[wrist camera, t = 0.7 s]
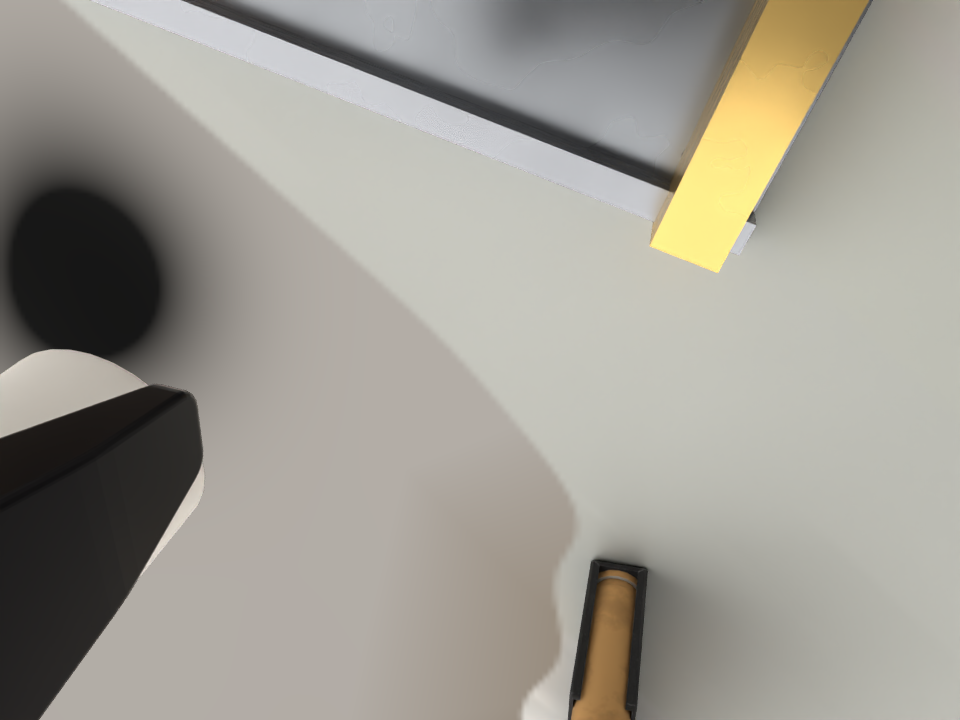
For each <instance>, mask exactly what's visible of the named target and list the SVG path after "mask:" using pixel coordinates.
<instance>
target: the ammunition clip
mask: <svg viewBox="0 0 960 720" xmlns="http://www.w3.org/2000/svg"><path fill="white" fill-rule="evenodd" d="M647 573H648V571H647V570H646V569H643V568H637V567H631V566H625V565H619V564H613V563H607V562H601V561H595V560H593V561H591V565H590V571H589V578H588V584H587V590H586V596H585V603H584V609H583V615H582V621H581V628H580V634H579V640H578V646H577V653H576V659H575V665H574V671H573V678H572V684H571V690H570V698H569V712H568V720H635V717H636V710H637V699H638V687H639V674H640V661H641V649H642V636H643V623H644V611H645V598H646V586H647Z"/></svg>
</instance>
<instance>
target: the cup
mask: <svg viewBox="0 0 960 720" xmlns="http://www.w3.org/2000/svg"><path fill="white" fill-rule="evenodd" d="M145 386H148V384H147V383H145V382H144V381H143V380H141V379H140V378H139V377H137V376H136V375H134V374H133V373H131V372H129V371H127V370H126V369H124V368H122V367H120V366H118V365H117V364H115V363H113V362H111V361H108V360H106V359H103V358H100V357H98V356H95V355H93V354H89V353H84V352H79V351H75V350H65V349H64V350H62V349H60V350H59V349H50V350H45V351H40V352H36V353H33V354H31V355H29V356H28V357H26V358H24V359H22V360H20V361H19V362H18V363H16V364H15V365H13V366H12V367H10V368H9V369H8V370H6V371H5V372H3V373H2V374H0V438H1V437H4V436H7V435H10V434H12V433H15V432H18V431H21V430H24V429H27V428H29V427H32V426H35V425H38V424H41V423H44V422H46V421H49V420H52V419H55V418H58V417H61V416H63V415H66V414H69V413H72V412H75V411H77V410H80V409H83V408H86V407H89V406H92V405H94V404H97V403H100V402H103V401H106V400H109V399H111V398H114V397H117V396H120V395H123V394H125V393H128V392H131V391H134V390H137V389H140V388H142V387H145ZM204 483H205V472H204V466H203V460H202V465H201V468H200V471H199V473H198V475H197V477H196V479H195V481H194V483H193V484H192V486H191V488H190V490H189V491H188V493H187V495H186V497H185V498H184V500H183V502H182V504H181V505H180V507H179V509H178V511H177V512H176V514H175V516H174V517H173V519H172V521H171V523H170V524H169V526H168V528H167V530H166V531H165V533H164V535H163V537H162V538H161V540H160V542H159V544H158V545H157V547H156V549H155V551H154V552H153V554H152V556H151V558H150V559H149V561H148V563H147V565H146V566H145V568H144V570H143V572H142V573H141V575H142V574H143V573H144V571H145V570H146V569H147V568H148V566H149V565H150V564H151V563H152V561H153V560H154V559H155V558H156V556H157V555H158V554H159V553H160V552H161V550H162V549H163V548H164V547H165V545H166V544H167V543H168V542H169V540H170V539H171V538H172V537H173V535H174V534H175V533H176V532H177V531H178V529H179V528H180V527H181V526H182V524H183V523H184V522H185V521H186V519H187V518H188V517H189V516H190V514H191V513H192V512H193V511H194V509H195V508H196V507H197V506H198V504H199V503H200V500H201V497H202V495H203V492H204ZM141 575H140V576H141ZM139 578H140V577H139ZM139 578H138V579H139Z"/></svg>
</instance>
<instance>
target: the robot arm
mask: <svg viewBox="0 0 960 720" xmlns="http://www.w3.org/2000/svg"><path fill="white" fill-rule="evenodd" d="M202 460H203V447H202V439H201V430H200V422H199V415H198V406H197V402H196V399H195V398H194V396H193V395H192V394H191V393H190V392H188V391H186V390H182V389H178V388H174V387H170V386H166V385H162V384H152V385H148V386H145V387H142V388H140V389H137V390H134V391H131V392H128V393H125V394H123V395H120V396H117V397H114V398H111V399H109V400H106V401H103V402H100V403H97V404H94V405H92V406H89V407H86V408H83V409H80V410H77V411H75V412H72V413H69V414H66V415H63V416H61V417H58V418H55V419H52V420H49V421H46V422H44V423H41V424H38V425H35V426H32V427H29V428H27V429H24V430H21V431H18V432H15V433H12V434H10V435H7V436H4V437H1V438H0V720H39V719H40V718H41V716H42V715H43V714H44V712H45V711H46V710H47V708H48V707H49V705H50V704H51V702H52V701H53V700H54V698H55V697H56V695H57V694H58V693H59V691H60V690H61V689H62V687H63V686H64V684H65V683H66V682H67V680H68V679H69V678H70V676H71V675H72V673H73V672H74V671H75V669H76V668H77V666H78V665H79V664H80V662H81V661H82V660H83V658H84V657H85V655H86V654H87V653H88V651H89V650H90V649H91V647H92V646H93V644H94V643H95V642H96V640H97V639H98V637H99V636H100V635H101V633H102V632H103V631H104V629H105V628H106V626H107V625H108V624H109V622H110V621H111V619H112V618H113V617H114V615H115V614H116V612H117V611H118V609H119V608H120V606H121V605H122V604H123V602H124V600H125V599H126V598H127V596H128V595H129V593H130V591H131V590H132V588H133V586H134V585H135V583H136V582H137V580H138V578H139V577H140V575H141V573H142V572H143V570H144V568H145V566H146V565H147V563H148V561H149V559H150V558H151V556H152V554H153V552H154V551H155V549H156V547H157V545H158V544H159V542H160V540H161V538H162V537H163V535H164V533H165V531H166V530H167V528H168V526H169V524H170V523H171V521H172V519H173V517H174V516H175V514H176V512H177V511H178V509H179V507H180V505H181V504H182V502H183V500H184V498H185V497H186V495H187V493H188V491H189V490H190V488H191V486H192V484H193V483H194V481H195V479H196V477H197V475H198V473H199V471H200V468H201V465H202Z"/></svg>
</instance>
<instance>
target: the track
mask: <svg viewBox="0 0 960 720" xmlns="http://www.w3.org/2000/svg"><path fill="white" fill-rule="evenodd" d="M91 1H93V2H96V3H98V4H101V5H104V6H106V7H109V8H111V9H114V10H116V11H119V12H121V13H124V14H126V15H129V16H131V17H134V18H137V19H139V20H142V21H144V22H147V23H149V24H152V25H154V26H157V27H159V28H162V29H164V30H167V31H170V32H172V33H175V34H177V35H180V36H182V37H185V38H187V39H190V40H192V41H195V42H198V43H200V44H203V45H205V46H208V47H210V48H213V49H215V50H218V51H220V52H223V53H225V54H228V55H231V56H233V57H236V58H238V59H241V60H243V61H246V62H248V63H251V64H253V65H256V66H259V67H261V68H264V69H266V70H269V71H271V72H274V73H276V74H279V75H281V76H284V77H286V78H289V79H292V80H294V81H297V82H299V83H302V84H304V85H307V86H309V87H312V88H314V89H317V90H320V91H322V92H325V93H327V94H330V95H332V96H335V97H337V98H340V99H342V100H345V101H347V102H350V103H353V104H355V105H358V106H360V107H363V108H365V109H368V110H370V111H373V112H375V113H378V114H381V115H383V116H386V117H388V118H391V119H393V120H396V121H398V122H401V123H403V124H406V125H408V126H411V127H414V128H416V129H419V130H421V131H424V132H426V133H429V134H431V135H434V136H436V137H439V138H442V139H444V140H447V141H449V142H452V143H454V144H457V145H459V146H462V147H464V148H467V149H469V150H472V151H475V152H477V153H480V154H482V155H485V156H487V157H490V158H492V159H495V160H497V161H500V162H502V163H505V164H508V165H510V166H513V167H515V168H518V169H520V170H523V171H525V172H528V173H530V174H533V175H536V176H538V177H541V178H543V179H546V180H548V181H551V182H553V183H556V184H558V185H561V186H563V187H566V188H569V189H571V190H574V191H576V192H579V193H581V194H584V195H586V196H589V197H591V198H594V199H597V200H599V201H602V202H604V203H607V204H609V205H612V206H614V207H617V208H619V209H622V210H624V211H627V212H630V213H632V214H635V215H637V216H640V217H642V218H645V219H647V220H650V221H652V222H653V227H652V233H651V240H650V246H651V247H653V248H656V249H658V250H661V251H663V252H666V253H668V254H671V255H673V256H676V257H678V258H681V259H684V260H686V261H689V262H691V263H694V264H696V265H699V266H701V267H704V268H706V269H709V270H711V271H714V272H716V273H718V272H719V270H720V268H721V266H722V264H723V263H724V261H725V259H726V257H727V255H728V254H729V252H731V253H734V254H736V255H740V253H741V252H742V250H743V248H744V246H745V244H746V243H747V241H748V239H749V237H750V236H751V234H752V232H753V230H754V229H755V227H756V221H755V214H754V213H755V211H756V209H757V207H758V205H759V204H760V202H761V200H762V198H763V196H764V195H765V193H766V191H767V189H768V187H769V186H770V184H771V182H772V180H773V178H774V177H775V175H776V173H777V171H778V170H779V168H780V166H781V164H782V162H783V161H784V159H785V157H786V155H787V153H788V152H789V150H790V148H791V146H792V144H793V143H794V141H795V139H796V137H797V135H798V134H799V132H800V130H801V128H802V127H803V125H804V123H805V121H806V119H807V118H808V116H809V114H810V112H811V110H812V109H813V107H814V105H815V103H816V101H817V100H818V98H819V96H820V94H821V92H822V91H823V89H824V87H825V85H826V83H827V82H828V80H829V78H830V76H831V75H832V73H833V71H834V69H835V67H836V66H837V64H838V62H839V60H840V58H841V57H842V55H843V53H844V51H845V49H846V48H847V46H848V44H849V42H850V40H851V39H852V37H853V35H854V33H855V32H856V30H857V28H858V26H859V24H860V23H861V21H862V19H863V17H864V15H865V14H866V12H867V10H868V8H869V6H870V5H871V3H872V1H873V0H91Z"/></svg>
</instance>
